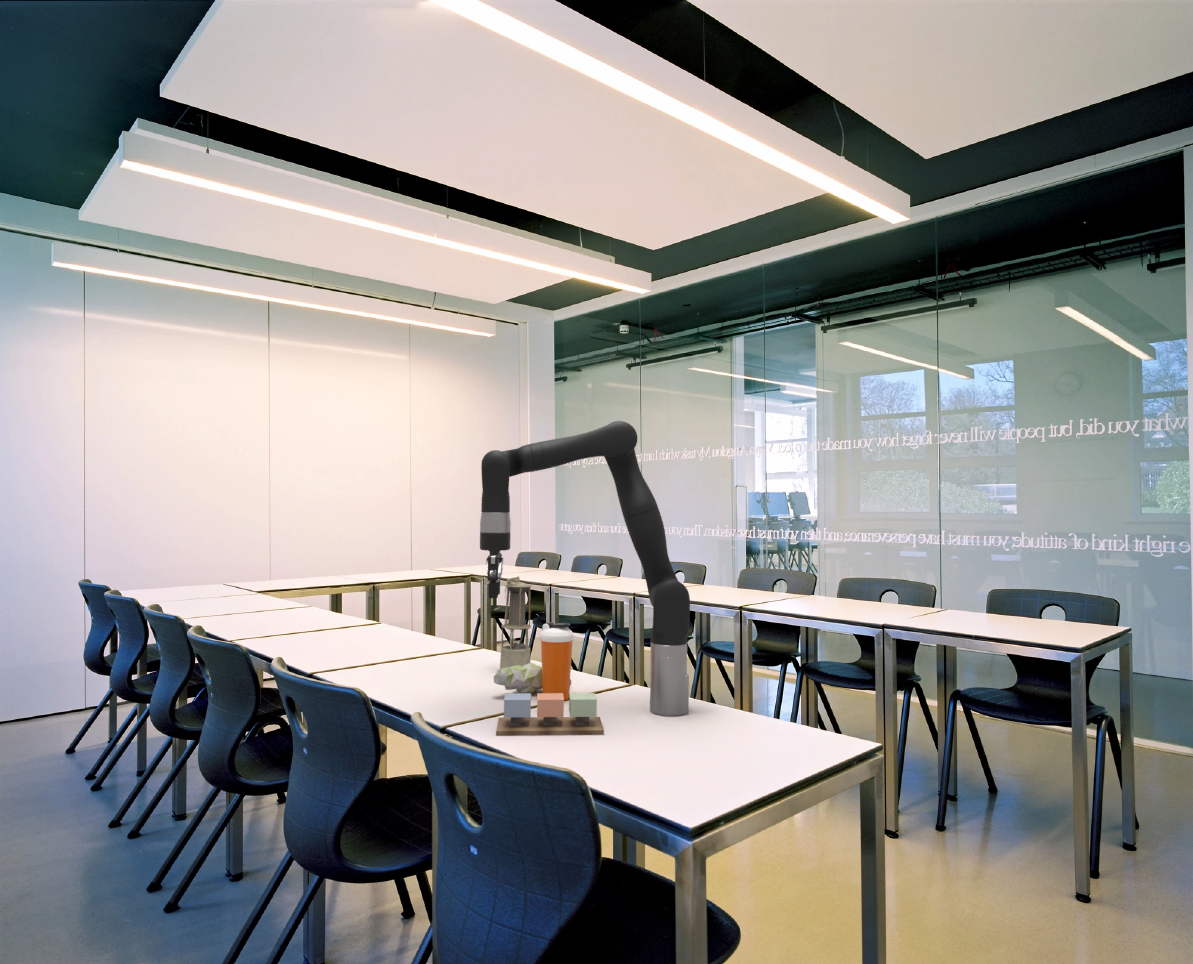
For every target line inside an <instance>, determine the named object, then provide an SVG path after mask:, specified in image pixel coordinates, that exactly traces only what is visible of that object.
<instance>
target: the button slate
mask: <svg viewBox="0 0 1193 964" xmlns="http://www.w3.org/2000/svg"><path fill="white" fill-rule="evenodd" d="M503 699H504V700H503V717H532V716H531V712H532V709H531V707H532V693H510V692H509V693H504V698H503Z"/></svg>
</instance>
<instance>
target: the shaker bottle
mask: <svg viewBox="0 0 1193 964" xmlns="http://www.w3.org/2000/svg"><path fill="white" fill-rule="evenodd" d="M570 626H571V624H570V623H567V622H559V623H555V622H553V621H550V622H546V623H544V624H543V625H542V628H541V629H542V631H541V632H540V637H539V638H540V639H539V640H540V646H541V647H540V648H541V649H540V650H541V651H540V652H541V653H540V654H541V667H542V689H541V690H542V693H563V697H564V702H565V701H568V700H569V693H570V689H571V688H570V686H571V685H570V679H571V669H572V668H571V667H572V655H573V654H572V653H573V652H572V651H573V642H574V633H573V631H572V630H571V629H570V628H569V627H570Z"/></svg>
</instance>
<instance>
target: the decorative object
mask: <svg viewBox="0 0 1193 964" xmlns="http://www.w3.org/2000/svg"><path fill="white" fill-rule="evenodd" d="M498 671H499V672H497V673H495V674H494V675H493V683H494V684H496V685H499V686H504V688H505V689H504V690H506V691H509V690H510V691H511V690H516V692H517V693H531V694H533V693H535V692H537V691H539V690H542V666H540V665H538V664H535V663H532V662H530V663H528V664H526V665H524V666H520V665H516V666H510V667H509V668H508V667H507V668H502V669H500V668H499V670H498ZM571 685H572V680H571V678H570V686H571Z"/></svg>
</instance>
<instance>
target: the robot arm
mask: <svg viewBox="0 0 1193 964" xmlns="http://www.w3.org/2000/svg"><path fill="white" fill-rule="evenodd" d="M637 443H638V434H637V431H636V429H635V427H634V426H632V425H631V424H630V423H628V422H626V421H623V420H616V421H612V422H610V423H608V424H607V425H606V424H605V425H604V426H602V427H599V428H597V429H594V430H590V431H587V432H584V433H579V434H576V435H571V436H566V437H560V438H554V439H548V440H543V441H538V442H533V443H528V444H525V445H522V446H520V447H517V448H513V449H512V448H511V449H509V450H498V449H495V450H494V449H493V450H490V451H488V452H487V453H486V454H485V455H483V457H482V459H481V486H482V487H481V489H482V491H481V492H482V494H481V505H480V506H481V509H480V510H481V514H480V521H479V522H480V523H479V549H480V550H481V551H488V552H489V555H488V556H487V557H486V561H485V562H486V575H487V576H486V579H487V582H488V598H489V599H498V598H499V595H500V594H501V579H502V575H503V569H504V568H503V565H504V557H503V555H502V553H501V551H509V550H510V549H511V527H512V526H511V524H512V523H511V514H510V512H511V510H510V509H511V507H510V505H511V504H510V503H511V502H510V501H511V499H510V498H511V496H510V492H509V490H510V478H511V477H515V476H517V475H521V474H525V473H533V472H538V471H542V470H543V471H544V470H548V469H552V468H556V467H559V466H563V465H566V464H569V463H572V462H578V461H579V460H584V459H588V458H589V459H590V458H595V457H604V460H605V461H606V464H607V466H608V468H609V470H610V473H611V476H612V478H613V481H614V485H615V489H616V494H617V498H618V501H619V506H620V509H621V514H622V516H623V520H624V523H625V526H626V529H627V532H628V534H629V537H630V539H631V543H632V544H633V545H632V546H633V547H634V550H635V552H636V554H637V557H638V559H639V562H640V564H641V567H642V570H643V574H644V579H645V583H646V587H647V592H648V593H647V594H648V598H649V601H650V604H651V606H652V607H653V609H652V610H653V611H652V613H653V615H652V627H651V632H650V665H649V666H650V668H649V669H650V673H649V674H650V680H649V684H650V685H649V712H650V713H652V714H655V715H660V716H667V717H672V716H673V717H676V716H682V715H689V713H690V712H689V709H690V707H689V703H690V699H689V698H690V695H689V694H690V691H689V690H690V688H689V687H690V683H689V682H690V679H689V677H690V676H689V674H688V636H689V633H690V632H689V631H690V622H691V621H690V619H691V618H690V616H691V615H690V614H691V613H690V612H691V599H690V593H689V590H688V588H687V586H686V585H684V583H682V582H681V581H679V580H678V577H677V576H676V573H675V571H674V568H673V566H672V563H671V561H670V560H671V559H670V558H669V553H668V547H667V546H668V545H667V537H666V536H667V535H666V530H665V525H664V521H663V519H662V518H663V517H662V515H661V512H660V508H659V505H658V503H657V500H656V499H655V496H654V495H653V492H652V490H651V488H650V486H649V485H648V482H646V480H645V478H644V476H643V474H642V471H641V470H640V466H639V462H638V458H637V455H636V449H635V448H636V446H637Z"/></svg>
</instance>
